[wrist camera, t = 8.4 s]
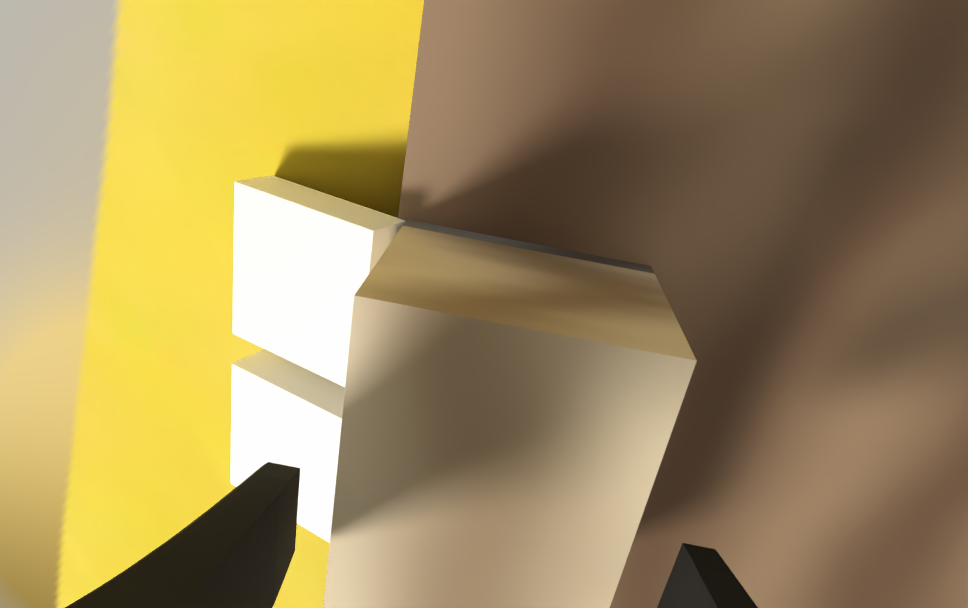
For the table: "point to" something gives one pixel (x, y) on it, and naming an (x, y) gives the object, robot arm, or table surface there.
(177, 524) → the table surface
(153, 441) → the table surface
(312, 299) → the paint flake
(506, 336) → the block
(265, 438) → the paint flake
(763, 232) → the walnut board
